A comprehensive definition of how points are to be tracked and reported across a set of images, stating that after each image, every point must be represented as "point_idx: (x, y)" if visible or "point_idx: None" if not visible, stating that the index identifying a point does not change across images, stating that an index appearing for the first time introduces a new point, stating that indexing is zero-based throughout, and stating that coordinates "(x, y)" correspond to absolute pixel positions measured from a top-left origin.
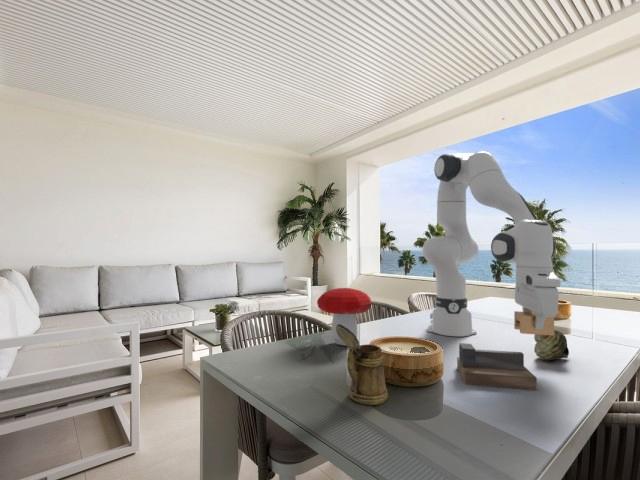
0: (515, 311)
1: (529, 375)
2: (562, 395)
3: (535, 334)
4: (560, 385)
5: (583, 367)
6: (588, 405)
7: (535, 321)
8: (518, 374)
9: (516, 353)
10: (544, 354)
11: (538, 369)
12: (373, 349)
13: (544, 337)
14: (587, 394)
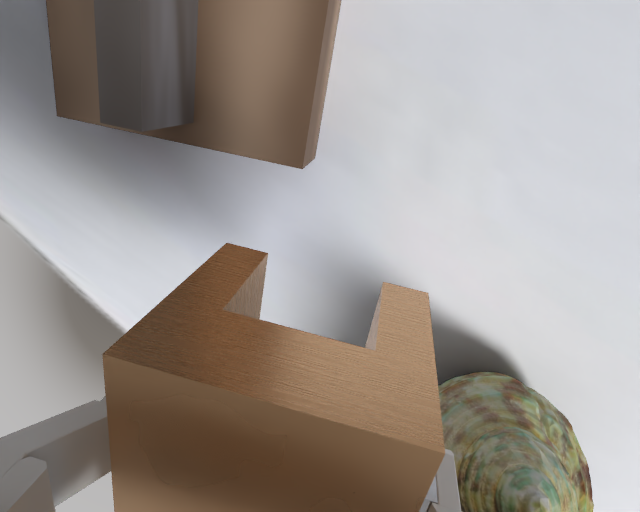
0: (424, 456)
1: (77, 95)
2: (76, 188)
3: (523, 464)
4: (175, 247)
5: None
6: (17, 221)
7: (105, 414)
8: (77, 37)
9: (101, 74)
10: (443, 388)
11: (358, 279)
12: None
13: (460, 473)
14: (110, 283)
